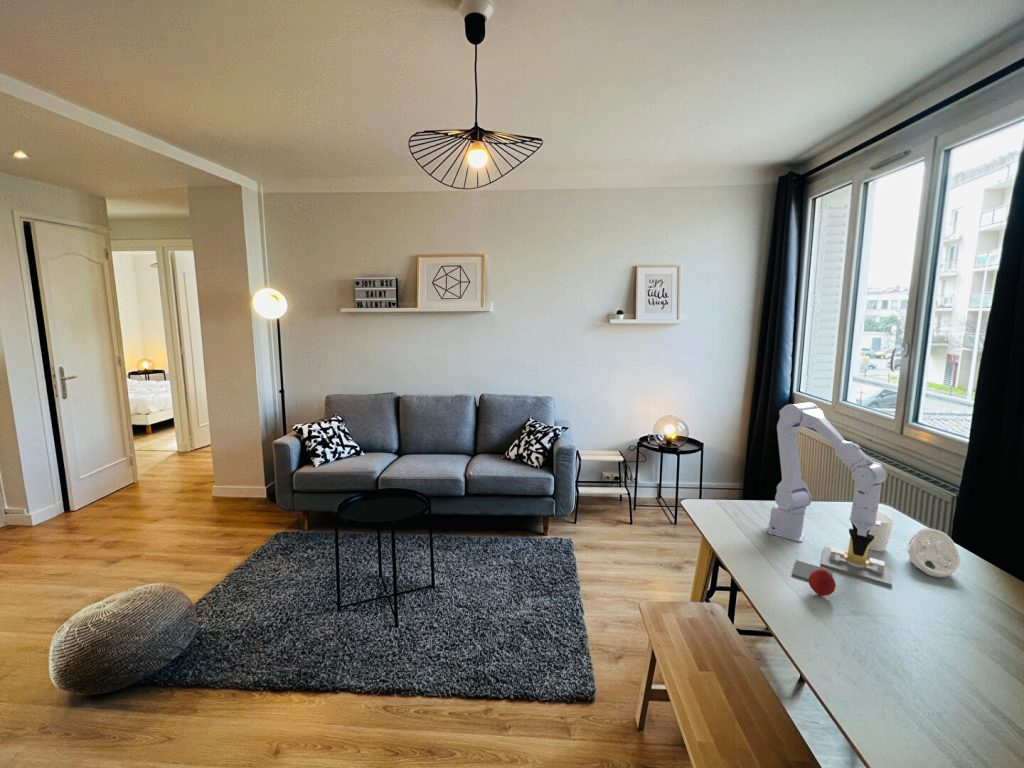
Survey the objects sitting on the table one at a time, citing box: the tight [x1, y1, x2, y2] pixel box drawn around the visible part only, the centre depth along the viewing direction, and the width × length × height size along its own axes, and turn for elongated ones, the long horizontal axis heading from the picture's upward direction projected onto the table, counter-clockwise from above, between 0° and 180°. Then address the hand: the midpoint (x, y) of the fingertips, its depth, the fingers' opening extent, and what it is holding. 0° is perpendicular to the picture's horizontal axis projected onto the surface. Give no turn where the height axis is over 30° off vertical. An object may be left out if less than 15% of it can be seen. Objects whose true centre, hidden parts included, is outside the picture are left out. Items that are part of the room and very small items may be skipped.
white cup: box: [868, 511, 894, 552], centre depth 145 cm, size 8×8×10 cm
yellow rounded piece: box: [840, 536, 873, 567], centre depth 133 cm, size 8×4×7 cm, turn 53°
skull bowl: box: [906, 527, 961, 578], centre depth 134 cm, size 10×14×12 cm
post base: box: [820, 546, 893, 588], centre depth 134 cm, size 16×12×4 cm
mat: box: [791, 559, 834, 582], centre depth 130 cm, size 9×9×1 cm
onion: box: [807, 566, 837, 597], centre depth 120 cm, size 6×6×8 cm
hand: (858, 549), depth 133 cm, fingers open, 7 cm apart
